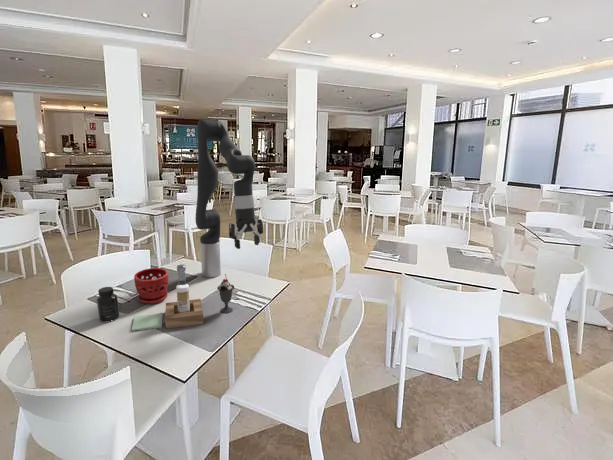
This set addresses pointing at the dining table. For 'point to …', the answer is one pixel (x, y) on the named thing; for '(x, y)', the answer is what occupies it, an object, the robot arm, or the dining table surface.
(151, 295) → the plant pot
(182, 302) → the sprinkles bottle
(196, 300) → the walnut dock
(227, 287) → the sundae
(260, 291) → the dining table surface
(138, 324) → the green mat
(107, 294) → the supplement bottle
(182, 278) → the bar
